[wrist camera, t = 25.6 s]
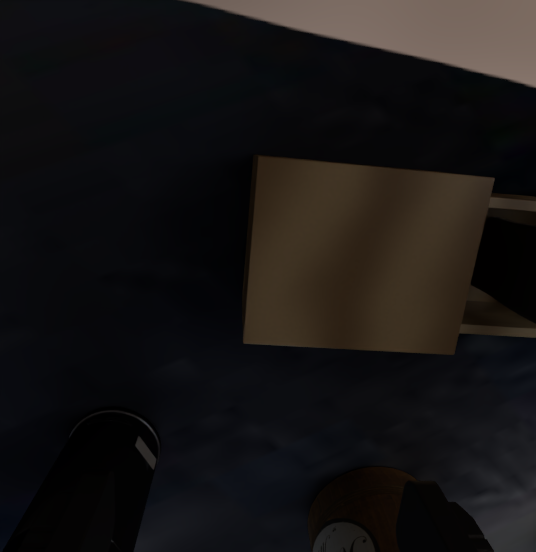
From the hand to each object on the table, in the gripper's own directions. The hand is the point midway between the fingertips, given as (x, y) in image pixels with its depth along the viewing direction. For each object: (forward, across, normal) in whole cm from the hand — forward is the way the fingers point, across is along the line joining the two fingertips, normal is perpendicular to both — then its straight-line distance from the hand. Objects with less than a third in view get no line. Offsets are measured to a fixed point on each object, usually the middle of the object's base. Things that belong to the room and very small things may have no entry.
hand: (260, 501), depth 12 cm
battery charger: (+28, -23, -2) cm, 37 cm away
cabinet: (+30, -8, -2) cm, 31 cm away
